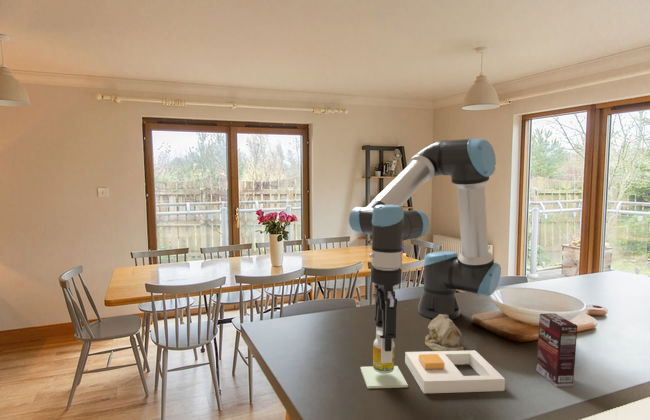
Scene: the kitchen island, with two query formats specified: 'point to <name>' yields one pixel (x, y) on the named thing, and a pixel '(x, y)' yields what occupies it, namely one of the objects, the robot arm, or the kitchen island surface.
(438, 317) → the ceramic model
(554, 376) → the supplement box
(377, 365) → the supplement bottle
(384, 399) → the kitchen island surface
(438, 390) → the frame
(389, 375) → the mat
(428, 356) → the orange sticky note pad
